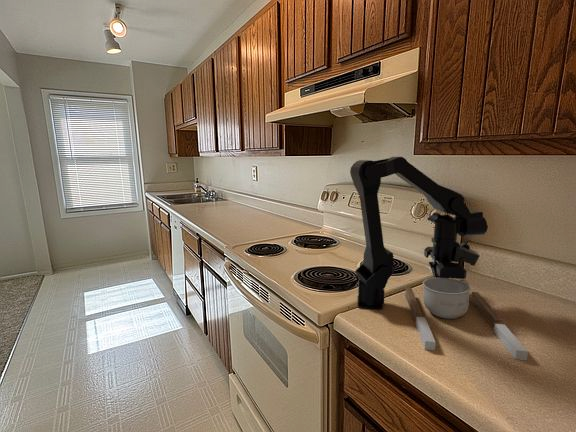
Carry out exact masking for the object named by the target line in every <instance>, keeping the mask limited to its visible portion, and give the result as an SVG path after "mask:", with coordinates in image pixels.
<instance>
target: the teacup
mask: <svg viewBox="0 0 576 432" xmlns="http://www.w3.org/2000/svg"><path fill="white" fill-rule="evenodd" d="M422 287H423V288H422V291H423V292H422V294H423V295H422V297H423V298H422V299H423V300H422V301H423V304H424V306H425V309H427V310H428V311H429V312H430V313H432V315H434V316H435V317H439V318H443V319H447V320H448V319H450V320H453V319H457V318H460V317H461V316H463V315H465V314H466V312H468V309H469V304H470V291H471V287H470V284H469V281H468V280H465V279H459V280H457V279H455V278H434V277H431V278H427V279H425V280H423V281H422Z"/></svg>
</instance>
